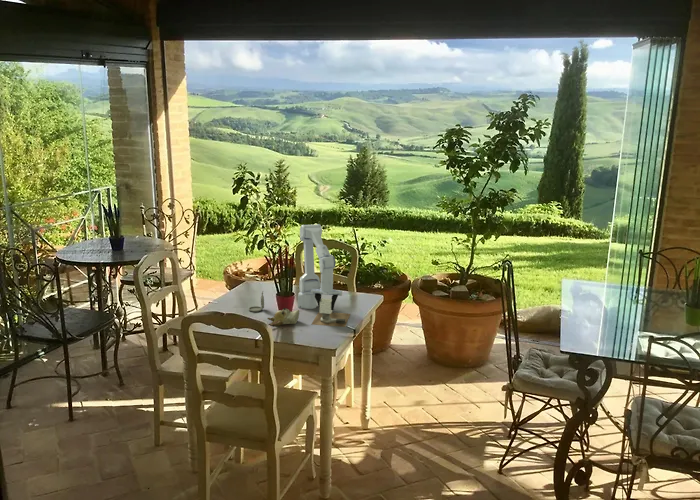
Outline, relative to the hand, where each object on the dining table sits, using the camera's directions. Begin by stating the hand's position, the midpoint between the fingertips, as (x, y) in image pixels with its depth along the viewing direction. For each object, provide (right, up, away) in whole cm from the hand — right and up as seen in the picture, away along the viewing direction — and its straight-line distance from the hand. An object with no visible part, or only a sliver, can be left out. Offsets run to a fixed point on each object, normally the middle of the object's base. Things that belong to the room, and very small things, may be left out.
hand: (326, 309), depth 273 cm
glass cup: (-35, -3, +19) cm, 40 cm away
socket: (0, -1, 0) cm, 1 cm away
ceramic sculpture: (-20, -8, -1) cm, 21 cm away
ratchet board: (+2, -7, +5) cm, 9 cm away
